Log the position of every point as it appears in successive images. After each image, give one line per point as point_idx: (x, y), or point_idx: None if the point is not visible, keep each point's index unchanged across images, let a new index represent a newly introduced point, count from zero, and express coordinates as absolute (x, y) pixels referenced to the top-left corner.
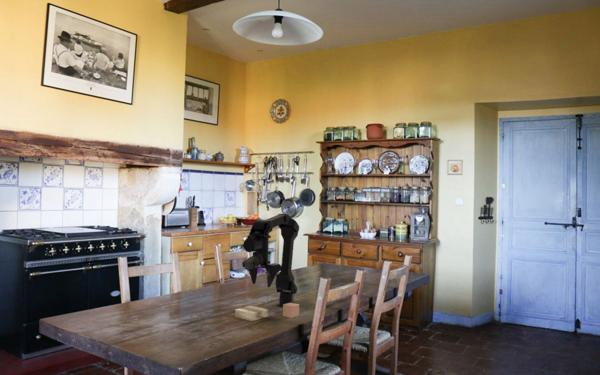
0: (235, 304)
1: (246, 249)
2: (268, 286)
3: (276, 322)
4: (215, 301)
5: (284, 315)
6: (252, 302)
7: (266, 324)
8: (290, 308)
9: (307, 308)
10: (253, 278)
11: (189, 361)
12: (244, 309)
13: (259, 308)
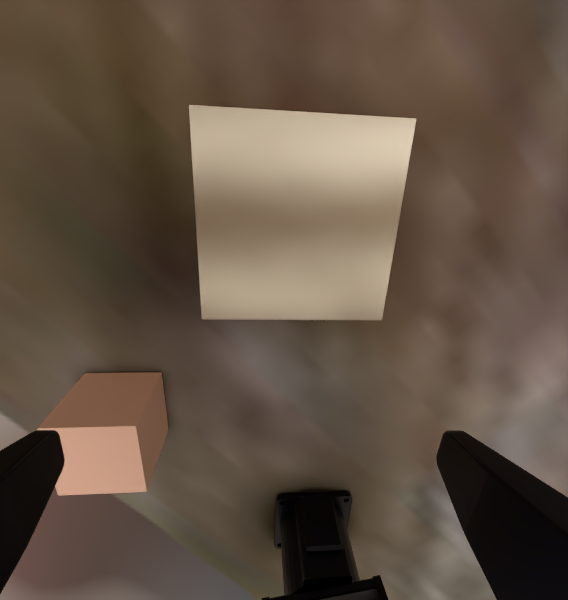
0: (564, 369)
1: None
2: (19, 440)
3: (63, 236)
4: None
5: (145, 375)
6: None
7: (61, 139)
8: (62, 414)
9: (194, 542)
10: (526, 535)
11: None
12: (351, 185)
13: (277, 297)
